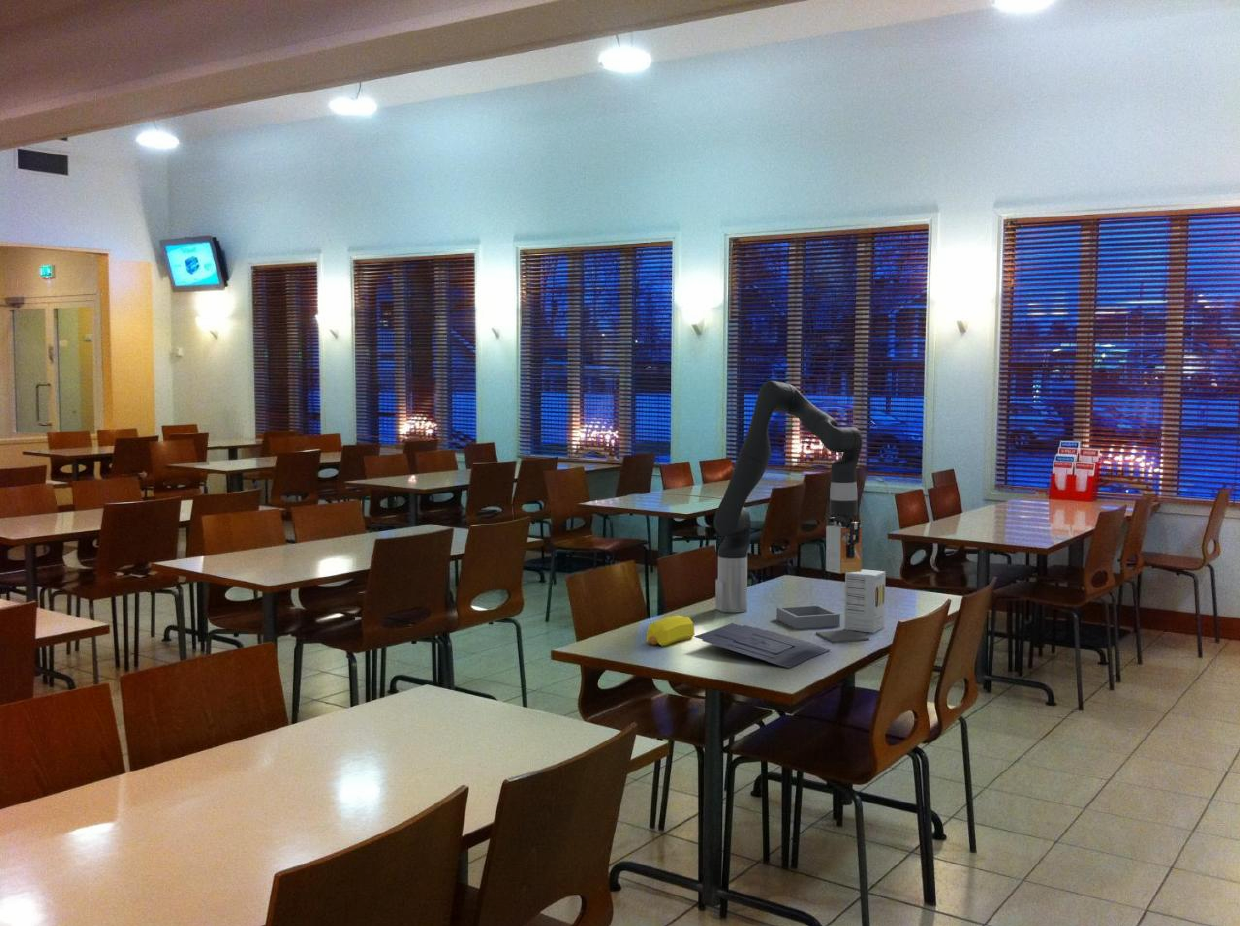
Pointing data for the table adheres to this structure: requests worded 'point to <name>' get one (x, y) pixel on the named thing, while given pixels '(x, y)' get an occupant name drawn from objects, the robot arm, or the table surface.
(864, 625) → the supplement box
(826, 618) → the grey bin
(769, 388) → the robot arm
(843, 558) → the small box
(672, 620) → the yellow faceted capsule
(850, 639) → the charcoal mat
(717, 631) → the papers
